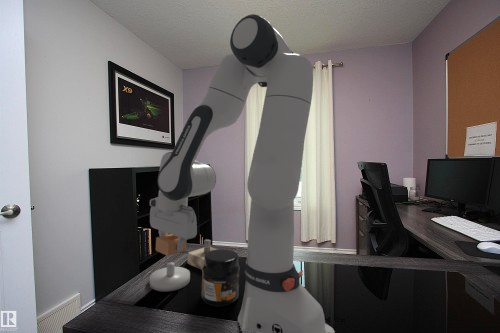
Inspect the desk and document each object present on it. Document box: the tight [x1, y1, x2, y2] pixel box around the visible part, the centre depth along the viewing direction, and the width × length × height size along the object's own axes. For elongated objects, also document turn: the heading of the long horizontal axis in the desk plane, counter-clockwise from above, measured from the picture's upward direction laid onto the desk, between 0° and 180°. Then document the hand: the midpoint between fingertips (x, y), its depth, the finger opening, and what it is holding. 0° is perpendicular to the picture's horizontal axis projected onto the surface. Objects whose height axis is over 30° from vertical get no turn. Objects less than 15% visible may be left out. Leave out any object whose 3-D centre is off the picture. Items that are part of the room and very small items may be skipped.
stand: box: [187, 239, 217, 271], centre depth 89 cm, size 10×10×8 cm
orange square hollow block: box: [155, 234, 188, 257], centre depth 74 cm, size 7×7×4 cm
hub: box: [149, 261, 191, 292], centre depth 74 cm, size 12×12×6 cm
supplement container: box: [201, 248, 241, 308], centre depth 66 cm, size 10×10×12 cm
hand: (171, 246), depth 74 cm, fingers closed on orange square hollow block, 7 cm apart
